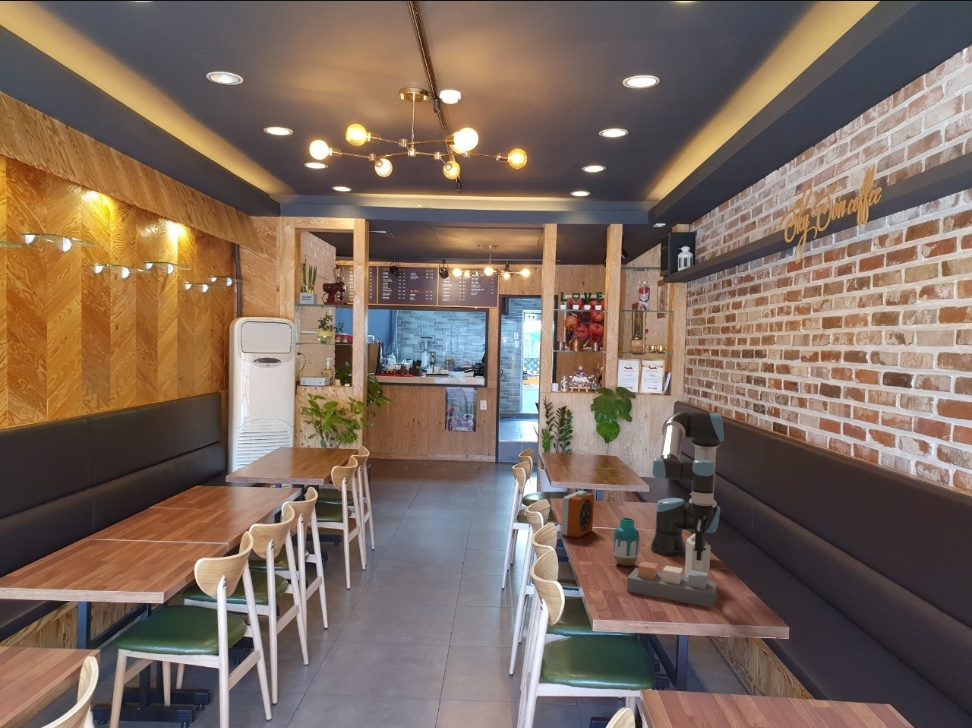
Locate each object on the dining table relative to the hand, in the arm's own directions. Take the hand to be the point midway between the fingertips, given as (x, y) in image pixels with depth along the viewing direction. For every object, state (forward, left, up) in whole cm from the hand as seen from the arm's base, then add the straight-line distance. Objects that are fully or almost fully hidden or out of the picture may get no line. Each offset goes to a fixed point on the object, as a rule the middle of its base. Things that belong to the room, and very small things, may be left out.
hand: (698, 568), depth 237 cm
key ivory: (0, -9, -8) cm, 12 cm away
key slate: (0, 0, -8) cm, 8 cm away
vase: (-24, -32, -11) cm, 41 cm away
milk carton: (-20, -3, -11) cm, 23 cm away
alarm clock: (-59, -64, -11) cm, 88 cm away
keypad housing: (0, -9, -11) cm, 14 cm away
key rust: (0, -18, -8) cm, 20 cm away
